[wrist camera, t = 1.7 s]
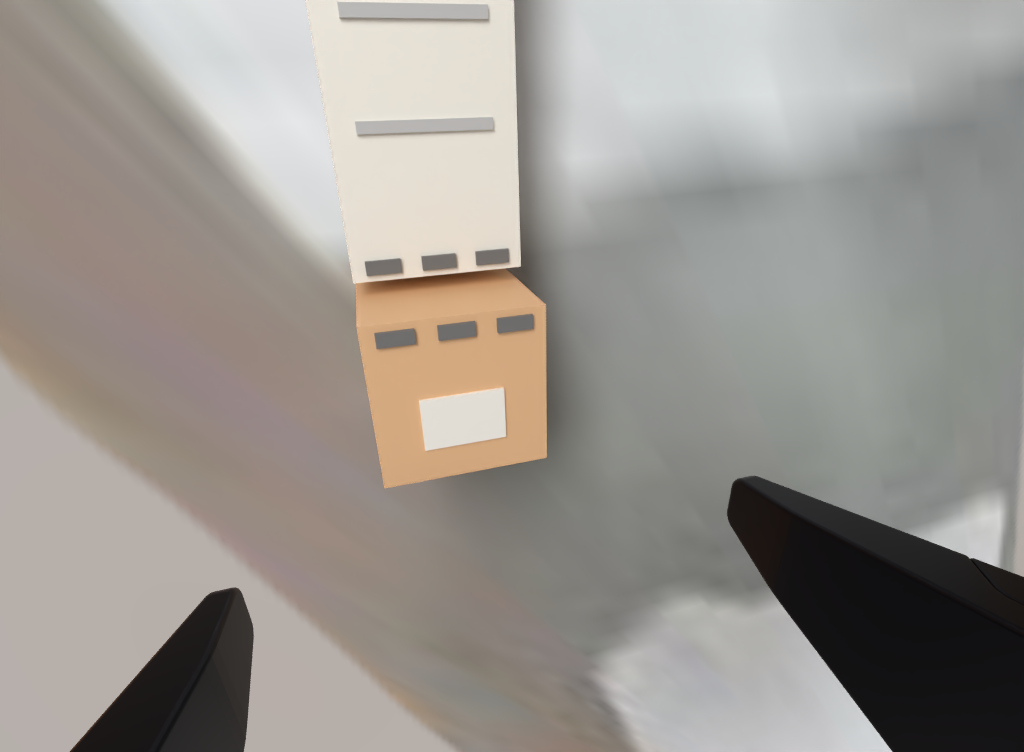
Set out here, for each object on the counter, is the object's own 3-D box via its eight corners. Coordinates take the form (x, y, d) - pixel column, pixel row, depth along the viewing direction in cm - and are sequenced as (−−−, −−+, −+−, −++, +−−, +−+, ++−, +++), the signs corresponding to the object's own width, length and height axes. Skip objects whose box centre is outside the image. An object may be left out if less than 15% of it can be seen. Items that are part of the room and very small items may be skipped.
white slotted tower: (471, -208, 14) (507, -310, 11) (493, 244, 19) (522, 267, 16) (273, -229, 13) (245, -351, 10) (353, 257, 18) (353, 284, 15)
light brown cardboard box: (494, 258, 19) (547, 306, 14) (499, 378, 22) (547, 459, 16) (356, 271, 18) (356, 328, 13) (376, 397, 20) (384, 490, 15)
